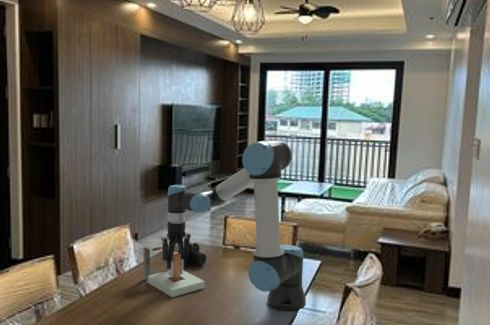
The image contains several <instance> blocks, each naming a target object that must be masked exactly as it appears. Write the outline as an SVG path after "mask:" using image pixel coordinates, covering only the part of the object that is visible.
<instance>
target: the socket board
mask: <svg viewBox="0 0 490 325" xmlns="http://www.w3.org/2000/svg"><path fill="white" fill-rule="evenodd" d="M147 283H148V284H149V285H151V286H153V287H154V288H156V289H157V290H160V291H161V292H163V293H164V294H166V295H168V296H169V297H171V298H175V297H178V296H181V295H185V294H189V293H193V292H196V291H199V290H203V289H205V283H206V282H205V281H204V279H201V278H199V277H197V276H195V275H193V274H191V273H190V272H187V271H185V270H184V269H183V274H181V277H180V281H176V282H172V281H171V280H170V276H169V275H168V270H166V271H163V272H162V271H161V272H158V273H154V274H151V275H149V276H148V281H147Z"/></svg>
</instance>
